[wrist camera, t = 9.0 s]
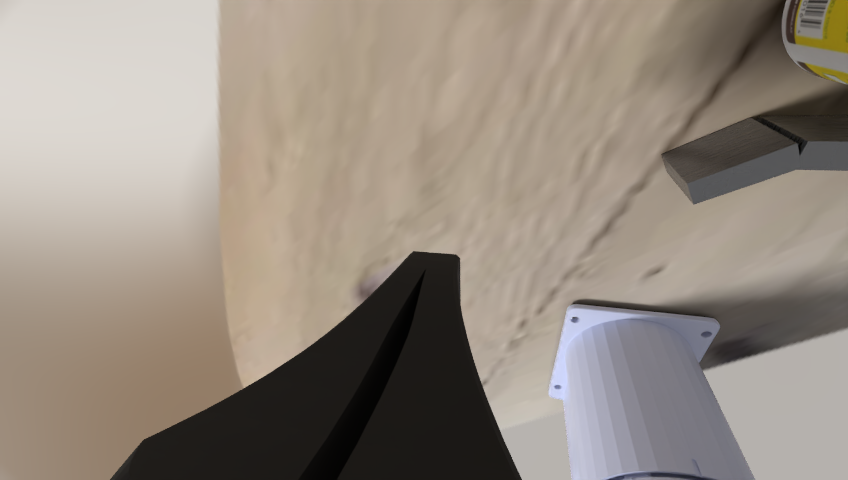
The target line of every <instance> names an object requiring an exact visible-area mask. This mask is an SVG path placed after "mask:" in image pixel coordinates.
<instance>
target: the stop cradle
mask: <svg viewBox="0 0 848 480" xmlns="http://www.w3.org/2000/svg"><path fill="white" fill-rule="evenodd" d="M661 155H662V158H663V161H664V164H665V167H666V170H667V173H668V174H669V175H670V176H671V178H672V179H673V180H674V181H675V183H676V184H677V185H678V186H679V187H680V189H681V190H682V191H683V192H684V194H685V195H686V196H687V197H688V198H689V200H690V201H691V202H692V203H693V204H697V203H700V202H703V201H706V200H708V199H711V198H714V197H717V196H720V195H723V194H726V193H729V192H732V191H735V190H738V189H741V188H744V187H747V186H750V185H752V184H755V183H758V182H761V181H764V180H767V179H770V178H773V177H776V176H779V175H782V174H785V173H788V172H791V171H794V170H842V171H848V115H838V116H759V117H758V119H757V121H756V120H754V119H752V118H749V119H746V120H744V121H741V122H739V123H736V124H734V125H732V126H729V127H727V128H724V129H722V130H719V131H717V132H715V133H712V134H710V135H707V136H705V137H702V138H700V139H698V140H695V141H693V142H690V143H688V144H686V145H683V146H681V147H678V148H676V149H673V150H671V151H669V152H666V153H664V154H661Z"/></svg>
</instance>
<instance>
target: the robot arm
mask: <svg viewBox="0 0 848 480" xmlns="http://www.w3.org/2000/svg"><path fill="white" fill-rule="evenodd" d="M572 317H577V318H572ZM719 329H720V325H719V323H718V321H717V320H716V319H714V318H709V317H699V316H689V315H680V314H670V313H660V312H650V311H640V310H630V309H620V308H611V307H601V306H591V305H581V304H573V305H570V306H569V307H568V308H567V312H566V316H565V320H564V325H563V329H562V333H561V338H560V342H559V346H558V351H557V355H556V359H555V364H554V368H553V372H552V377H551V381H550V385H549V396H550V397H552V398H555V399H561V400H563V404H564V413H565V422H566V431H567V440H568V450H569V458H570V468H571V477H572V480H755V478H754V476H753V474H752V472H751V470H750V468H749V466H748V464H747V462H746V460H745V458H744V456H743V453H742V451H741V449H740V447H739V445H738V443H737V441H736V439H735V437H734V435H733V433H732V431H731V429H730V427H729V425H728V422H727V420H726V418H725V417H724V414H723V412H722V410H721V408H720V406H719V404H718V402H717V400H716V398H715V396H714V394H713V392H712V390H711V388H710V385H709V383H708V381H707V379H706V377H705V375H704V373H703V371H702V369H701V367H700V365H699V363H700V361H701V359H702V358H703V356H704V354H705V353H706V351H707V349H708V348H709V346H710V344H711V343H712V341H713V339H714V338H715V336H716V334H717V333H718V331H719ZM705 331H706V332H705ZM110 480H522V479H521V477H520V475H519V473H518V471H517V468H516V466H515V464H514V462H513V460H512V457H511V455H510V453H509V451H508V448H507V446H506V444H505V442H504V439H503V437H502V435H501V432H500V430H499V427H498V425H497V422H496V420H495V417H494V415H493V412H492V410H491V407H490V405H489V403H488V400H487V398H486V395H485V392H484V389H483V386H482V384H481V381H480V378H479V375H478V372H477V369H476V366H475V363H474V360H473V356H472V353H471V350H470V346H469V342H468V338H467V334H466V330H465V326H464V322H463V317H462V312H461V306H460V258H459V257H458V256H457V255H454V254H441V253H429V252H416V251H413V252H412V253H411V254H410V255H409V256H408V257H407V258H406V259H405V260H404V261H403V262H402V264H401V265H400V266H399V267H398V268H397V269H396V270H395V271H394V272H393V273H392V274H391V275H390V276H389V277H388V278H387V279H386V280H385V281H384V282H383V283H382V284H381V285H380V286H379V287H378V288H377V289H376V290H375V291H374V292H373V293H372V294H371V295H370V296H369V297H368V298H367V299H366V300H365V301H364V302H363V303H362V304H361V305H360V306H358V307H357V308H356V309H355V310H354V311H353V312H352V313H351V314H349V315H348V316H347V317H346V318H345V319H344V320H343V321H341V322H340V323H339V324H338V325H337V326H335V327H334V328H333V329H332V330H331V331H329V332H328V333H327V334H325V335H324V336H323V337H322V338H320V339H319V340H318V341H316V342H315V343H314V344H312V345H311V346H310V347H308V348H307V349H305V350H304V351H302V352H301V353H300V354H298V355H297V356H295V357H294V358H292V359H290V360H289V361H287V362H286V363H284V364H283V365H281V366H280V367H278V368H277V369H275V370H274V371H272V372H271V373H269V374H268V375H266V376H264V377H263V378H261V379H259V380H258V381H256V382H254V383H252V384H251V385H249V386H247V387H246V388H244V389H242V390H240V391H239V392H237V393H235V394H233V395H231V396H230V397H228V398H226V399H224V400H223V401H221V402H219V403H217V404H215V405H213V406H211V407H209V408H208V409H206V410H204V411H202V412H200V413H198V414H196V415H194V416H191V417H190V418H187V419H186V420H183V421H181V422H179V423H177V424H175V425H173V426H171V427H169V428H167V429H165V430H163V431H161V432H159V433H157V434H155V435H153V436H151V437H148V438H146V439H144V440H143V441H142V442H141V443H140V445H139V446H138V447H137V448H136V449H135V450H134V452H133V453H132V454H131V455H130V456H129V457H128V459H127V460H126V461H125V463H124V464H123V465H122V466H121V467H120V468H119V469H118V471H117V472H116V473H115V474H114V475H113V477H112V478H111V479H110Z"/></svg>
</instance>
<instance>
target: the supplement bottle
mask: <svg viewBox="0 0 848 480" xmlns="http://www.w3.org/2000/svg"><path fill="white" fill-rule="evenodd" d="M782 38H783V42H784V46H785V48H786V50H787V53H788V54H789V56H790V57H791V59H792V60H793V61H794V62H795V63H796V64H797V65H798V66H799V67H800V68H802V69H803V70H805V71H807V72H809V73H811V74H813V75H816V76H819V77H822V78H825V79H828V80H832V81H835V82H839V83H843V84H847V85H848V0H786V3H785V7H784V11H783V17H782Z"/></svg>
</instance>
